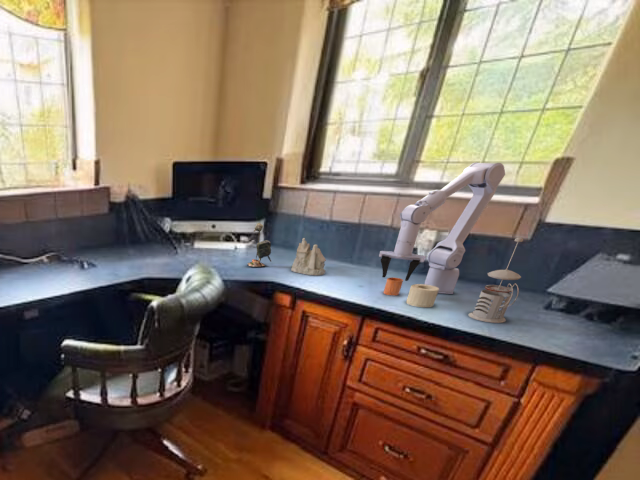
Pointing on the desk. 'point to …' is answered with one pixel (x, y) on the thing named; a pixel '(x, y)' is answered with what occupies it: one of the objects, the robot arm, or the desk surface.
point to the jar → (422, 295)
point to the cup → (393, 286)
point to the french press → (496, 296)
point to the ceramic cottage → (308, 260)
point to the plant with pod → (261, 249)
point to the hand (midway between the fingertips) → (395, 278)
